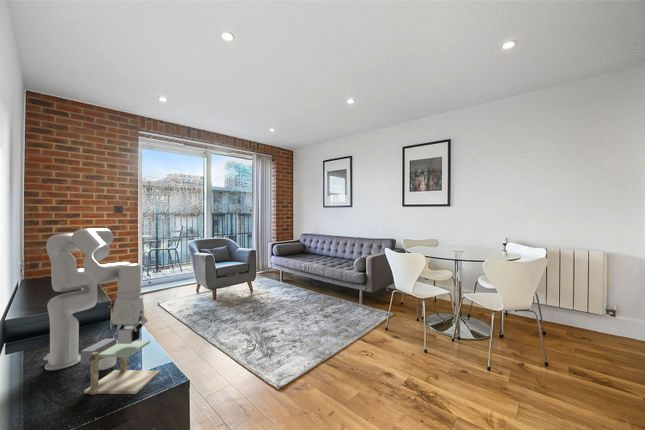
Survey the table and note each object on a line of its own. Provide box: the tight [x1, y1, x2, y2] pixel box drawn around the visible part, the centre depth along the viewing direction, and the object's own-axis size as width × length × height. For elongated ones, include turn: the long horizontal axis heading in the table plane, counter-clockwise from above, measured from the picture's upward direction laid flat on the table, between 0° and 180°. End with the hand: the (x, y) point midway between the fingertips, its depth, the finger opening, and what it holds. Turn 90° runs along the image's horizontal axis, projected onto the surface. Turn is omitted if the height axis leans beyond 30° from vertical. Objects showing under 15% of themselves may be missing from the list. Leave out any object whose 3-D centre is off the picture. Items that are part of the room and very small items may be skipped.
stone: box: [117, 325, 134, 344], centre depth 108 cm, size 5×5×5 cm
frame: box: [83, 352, 161, 395], centre depth 107 cm, size 20×17×15 cm
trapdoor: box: [80, 338, 151, 365], centre depth 108 cm, size 19×12×5 cm, turn 87°
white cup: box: [99, 340, 118, 371], centre depth 120 cm, size 8×8×10 cm
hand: (128, 339), depth 108 cm, fingers closed on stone, 5 cm apart
